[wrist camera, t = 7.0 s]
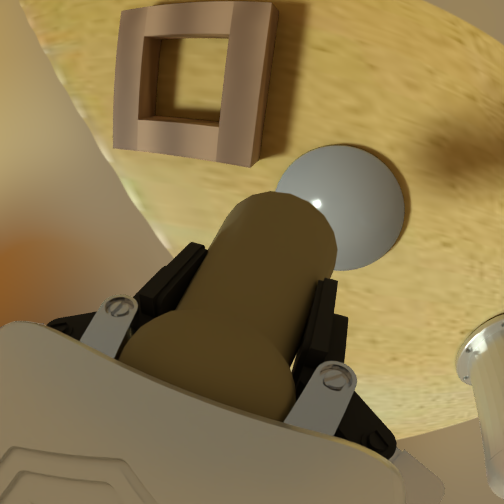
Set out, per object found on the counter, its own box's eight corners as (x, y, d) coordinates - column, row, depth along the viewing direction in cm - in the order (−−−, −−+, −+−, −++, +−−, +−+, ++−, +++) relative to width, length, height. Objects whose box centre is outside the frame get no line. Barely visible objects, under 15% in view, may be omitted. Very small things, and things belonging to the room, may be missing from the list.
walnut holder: (279, 11, 21) (271, 2, 18) (259, 160, 28) (250, 167, 25) (139, 14, 23) (121, 11, 21) (130, 142, 30) (113, 148, 28)
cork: (337, 300, 16) (298, 505, 7) (231, 295, 18) (132, 459, 9) (335, 189, 14) (287, 395, 5) (211, 194, 16) (44, 338, 6)
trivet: (418, 164, 24) (420, 166, 23) (380, 278, 30) (381, 282, 30) (285, 131, 26) (284, 133, 25) (266, 250, 32) (264, 254, 32)
